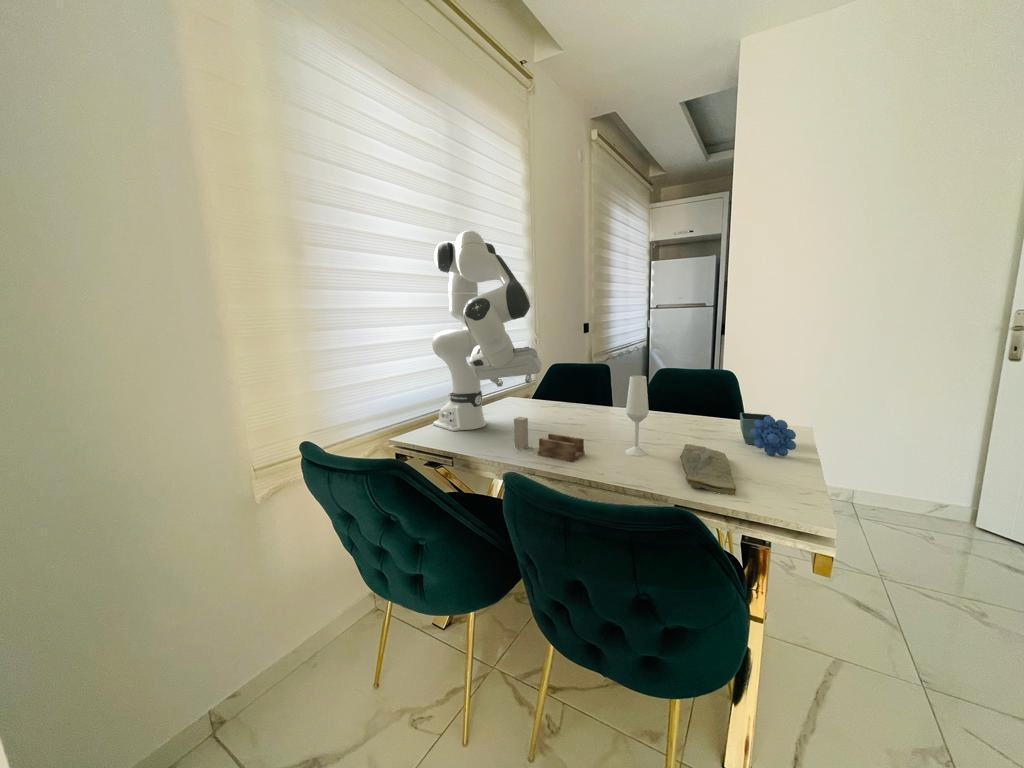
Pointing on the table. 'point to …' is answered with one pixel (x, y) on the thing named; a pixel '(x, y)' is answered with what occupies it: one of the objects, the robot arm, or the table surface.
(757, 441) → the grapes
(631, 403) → the champagne flute
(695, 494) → the table surface
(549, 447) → the wooden napkin holder
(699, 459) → the stone slab
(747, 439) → the flower pot
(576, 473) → the table surface
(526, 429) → the strip
